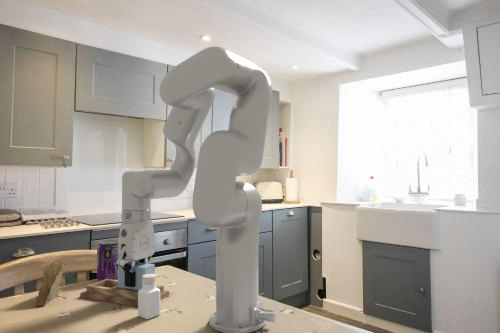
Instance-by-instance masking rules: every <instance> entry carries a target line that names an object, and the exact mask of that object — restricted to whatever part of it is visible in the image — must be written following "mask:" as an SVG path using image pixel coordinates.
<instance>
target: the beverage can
mask: <svg viewBox="0 0 500 333" xmlns="http://www.w3.org/2000/svg"><path fill="white" fill-rule="evenodd" d="M118 242H119V239H118V240H115V239H112V240H110V239H109V240H108V239H107V240H101V241H99V242H98V246H97V247H96V280H99V281H102V280H104V279H113V280H118V265H117V264H116V261H117V259H118V257H119V256H118Z"/></svg>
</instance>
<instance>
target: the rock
mask: <svg viewBox="0 0 500 333" xmlns="http://www.w3.org/2000/svg"><path fill="white" fill-rule="evenodd" d="M64 267H65V263H64V262H62V261H61V260H57V261H54V262H52V263H51V264H50V265H48V266H47V267H46V268H45V269H44V270H43V278H42V281H41V282H42V283H41V286H40V288H39V290H38V295H37V298H36V300H35V303H34V306H35V307H45V306H46V305H47V304H49V302H51V301H52V300H54V299H55V298H56V297H57V296H59V294H60V289H61V283H62V282H61V281H62V277H63V273H64Z"/></svg>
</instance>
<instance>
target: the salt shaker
mask: <svg viewBox="0 0 500 333" xmlns="http://www.w3.org/2000/svg"><path fill="white" fill-rule="evenodd" d="M142 284H143V288H142V289H140V290H139V291H138V306H137V314H138V317H140V318H143V319H145V320H150V319H154V318H155V317H159V316H160V315H161V300H160V289H158V288H157V287H156V285H157V274H156V273H155V274H145V275H143V276H142Z"/></svg>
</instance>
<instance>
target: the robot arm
mask: <svg viewBox="0 0 500 333" xmlns="http://www.w3.org/2000/svg"><path fill="white" fill-rule="evenodd" d="M158 88H159V89H158V92H159V96H160V99H161V101H162V102H163V103H164V104H166V105H168V106H171V110H170V112H169V114H168V116H167V118H166V121H165V123H164V125H163V128H162V134H163V135H164V137H165V138H166V139H167V140H168V141H170V142H171V143H173V144H174V146H175V151H176V152H175V157H174V160H173V163H172V165H171V167H170V169H146V170H127V171H125V172H123V173H122V176H121V215H120V217H121V222H120V227H119V233H118V234H119V235H118V241H119V242H118V256H119V257H118V259H117V261H116V264H117V265H119V266H121V268H122V269H123V271H124V272H125V286H126V287H135V286H136V272H134V267H135V261H137V260H138V263H147V264H150V263H149V262H150V260H151V258H152V256H153V255H154V254H155V251H156V250H155V249H156V248H155V247H156V244H155V231H154V230H155V228H154V224H153V220H152V219H151V218H152V217H151V216H152V214H151V211H152V207H151V204H152V202H151V201H152V200H154V199H155V200H156V199H167V198H175V197H176V198H177V197H178V196H180V195H182V194H183V193H184V191H185V190H186V189H187V186H188V185H189V182H190V181H191V179H192V177H193V174H194V172H195V168H196V172H195V179H194V188H193V194H192V209H193V210H192V211H193V215H194V217H195V220H197V222H198V223H199V224H200V225H201V226H202V227H204V228H207V229H210V230H211V229H212V230H215V229H218V232H217V237H216V246H215V247H216V250H215V252H216V254H215V274H216V275H215V280H216V281H215V291H216V292H215V299H216V300H215V302H216V303H215V306H216V307H215V309H216V310H215V312H213V313H212V314H210V316H209V319H208V322H209V326H210V327H211V328H212V329H213V330H215V331H217V332H220V333H253V332H255V331H258V330H261V329H262V328H263V327H264V326H265V325H266V322H269V323H270V322H271V323H276V320H277V313H276V312H275V309H274V308H266V307H264V306H263V304H264V303H263V301H264V300H259V240H260V238H259V236H260V235H259V234H260V225H261V217H262V210H263V201H262V196H261V193H260V192H259V190H258V189H257V187H255V186H254V185H253V184H251V183H249V182H245V181H241V180H240V181H239V180H238V181H237V177H246V176H247V177H248V176H252V175H255V174H256V173H257V172H258V171H259V170H260V168H261V166H262V164H263V158H264V152H265V145H266V138H267V132H268V131H267V129H268V120H269V115H270V110H271V109H270V108H271V103H272V98H273V84H272V81H271V78H270V76H268V74H267V72H266V71H265V70H263V69H262V68H261V67H259V65H256V64H255V63H254V62H251V61H250V60H248V59H246V58H244V57H242V56H240V55H238V54H235V53H233V52H232V51H230V50H228V49H226V48H224V47H221V46H209V47H206V48H203V49H202V50H200V51H198V52H196V53H195V54H193V55H192V56H190V57H188V58H185V60H183V61H182V62H179V63H178V64H177V65H175V66H174V67H172V68H171V69H170V70H169V71H168V72H166V74H165V75H164V76H163V78H162V80H161V82H160V85H159V87H158ZM216 90H218V91H220V92H221V91H222V92H224V93H228V94H231V95H234V96H236V97H237V99H236V100H235V102H234V104H233V105H232V107H231V111H230V115H229V124H228V129H227V130H226V129H220V130H219V129H218V130H216V131H213V132H211V133H210V134H208V135H207V137H206V138H205V139H204V140H203V142H202V143H201V146H200V149H199V151H198V157H197V156H196V148H195V142H196V140H197V138H198V135H199V133H200V131H201V129H202V127H203V125H204V122H206V119H207V117H208V114H209V112H210V111H211V107H212V105H213V103H214V101H215V98H216ZM196 157H197V161H196ZM196 162H197V164H196ZM128 262H131V263H130V265H129V264H128Z"/></svg>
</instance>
